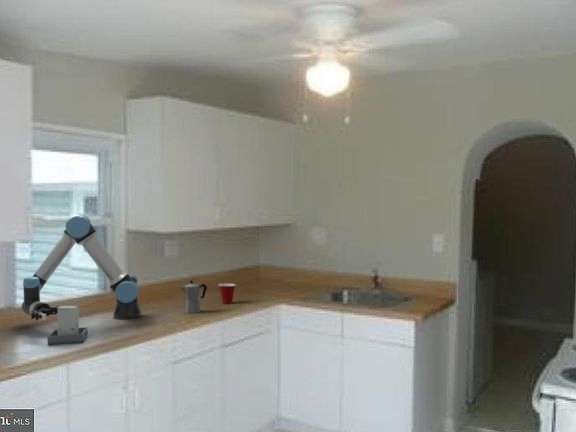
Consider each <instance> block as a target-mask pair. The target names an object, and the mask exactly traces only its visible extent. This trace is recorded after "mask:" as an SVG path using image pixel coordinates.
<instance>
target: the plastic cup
mask: <svg viewBox="0 0 576 432" xmlns="http://www.w3.org/2000/svg"><path fill="white" fill-rule="evenodd" d="M236 286H237V285H236V284H235V283H218V287H219V293H220V297H221V302H222V304H223V305H231V304H232V303H233V300H234V299H233V298H234V294H235V289H236Z"/></svg>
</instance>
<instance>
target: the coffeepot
mask: <svg viewBox="0 0 576 432" xmlns="http://www.w3.org/2000/svg"><path fill="white" fill-rule="evenodd" d="M189 282H190V283H189V284H186V285H183V286H180V287H179V288H180V289H181V290H182V291H183V293H184V298H185V304H184V313H185V314H197V313H200V312H201V306H200V303H199V302H200V301H199V298H200V299H203V298H205V294H206V291H207V289H208V287H207V285H206V284H205V283H198V284H196V283H193V282H194V281H193V280H190V281H189ZM200 288H203V290H202V294H201V295H202V296H200V297H199V295H200Z"/></svg>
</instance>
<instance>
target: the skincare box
mask: <svg viewBox="0 0 576 432" xmlns="http://www.w3.org/2000/svg"><path fill="white" fill-rule="evenodd" d="M79 309H80V307H79V306H78V305H61V306H58V312H57V314H56V315H57V318H56V319H57V325H56V327H57V328H56V329H57V336H59V335H74V334H79V328H80V327H79V326H80V325H79V324H80V323H79V322H80V321H79V320H80V319H79V317H80V315H79V313H80V312H79V311H80V310H79Z"/></svg>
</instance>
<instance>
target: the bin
mask: <svg viewBox="0 0 576 432" xmlns="http://www.w3.org/2000/svg"><path fill="white" fill-rule="evenodd" d="M88 333H89V331H88V326H85V327H79V334H74V335H59V336H57V328H56V329H53V330H52V331H51V332H50V333H49V335H48V336H47V346H58V345H59V346H61V345H72V344H83V343H84V342H85V341H86V339H87V337H88V336H89V334H88Z"/></svg>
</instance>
